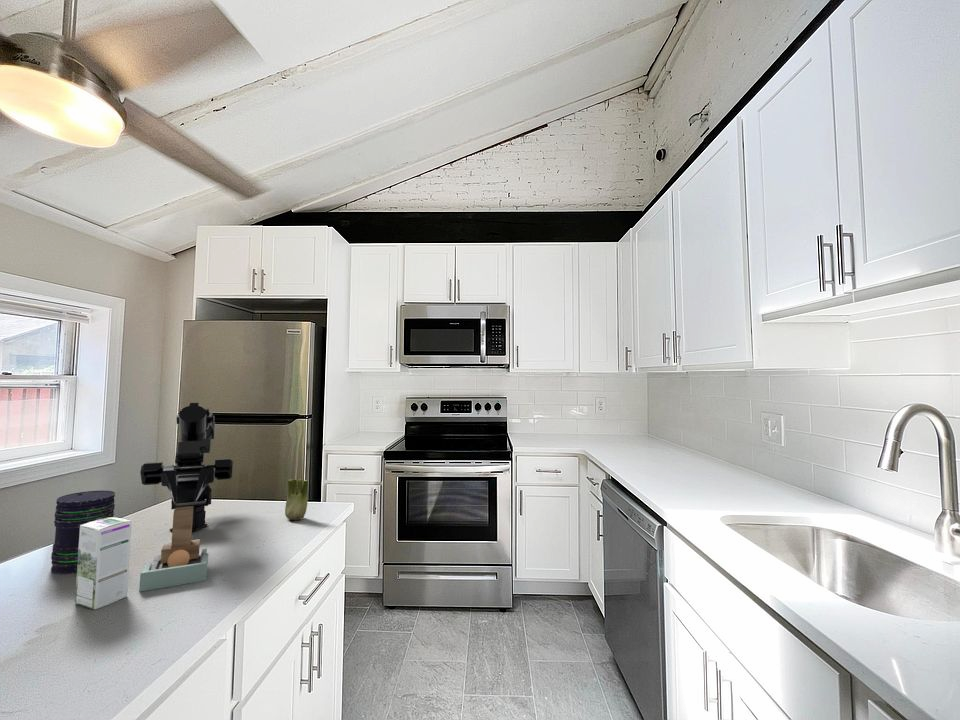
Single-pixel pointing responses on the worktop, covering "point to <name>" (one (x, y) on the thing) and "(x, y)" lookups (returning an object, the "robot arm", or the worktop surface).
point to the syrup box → (103, 562)
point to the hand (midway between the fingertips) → (185, 501)
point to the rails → (157, 558)
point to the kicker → (181, 535)
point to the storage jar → (76, 525)
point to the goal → (172, 575)
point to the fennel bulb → (296, 500)
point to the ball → (178, 558)
